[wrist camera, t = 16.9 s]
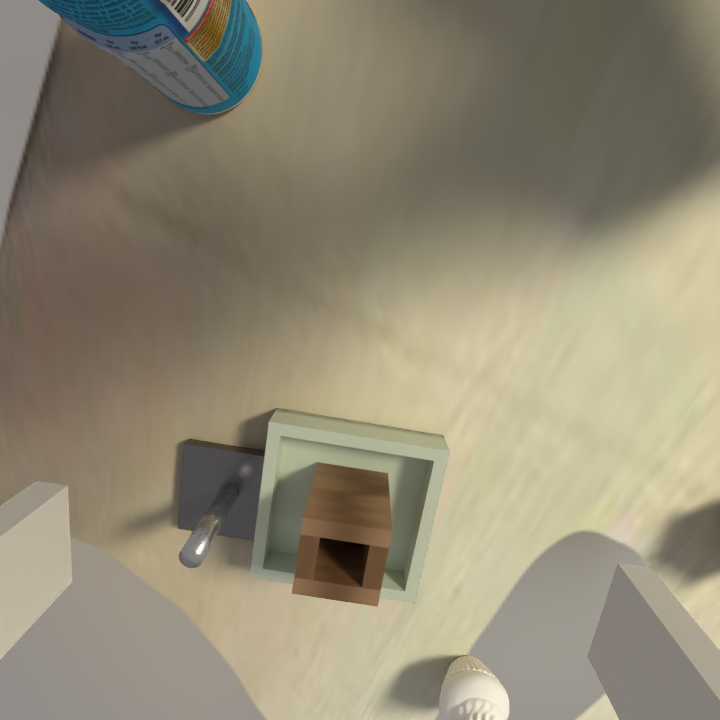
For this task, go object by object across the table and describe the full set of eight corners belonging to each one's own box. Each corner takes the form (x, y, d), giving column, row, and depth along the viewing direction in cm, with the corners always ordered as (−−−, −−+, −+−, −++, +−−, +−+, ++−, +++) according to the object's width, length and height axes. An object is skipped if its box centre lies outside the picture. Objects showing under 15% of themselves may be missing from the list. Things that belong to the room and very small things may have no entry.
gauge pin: (282, 454, 38) (256, 514, 29) (271, 535, 40) (243, 616, 31) (189, 438, 38) (134, 495, 29) (182, 521, 39) (128, 598, 31)
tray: (443, 435, 37) (449, 451, 34) (411, 577, 40) (414, 603, 37) (276, 408, 37) (268, 421, 34) (258, 553, 40) (249, 576, 37)
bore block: (387, 473, 37) (392, 531, 29) (376, 535, 39) (377, 606, 31) (317, 462, 37) (303, 517, 29) (307, 524, 38) (291, 593, 31)
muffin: (511, 666, 42) (538, 745, 35) (467, 704, 43) (485, 788, 37) (463, 631, 41) (481, 705, 35) (419, 671, 43) (429, 750, 36)
